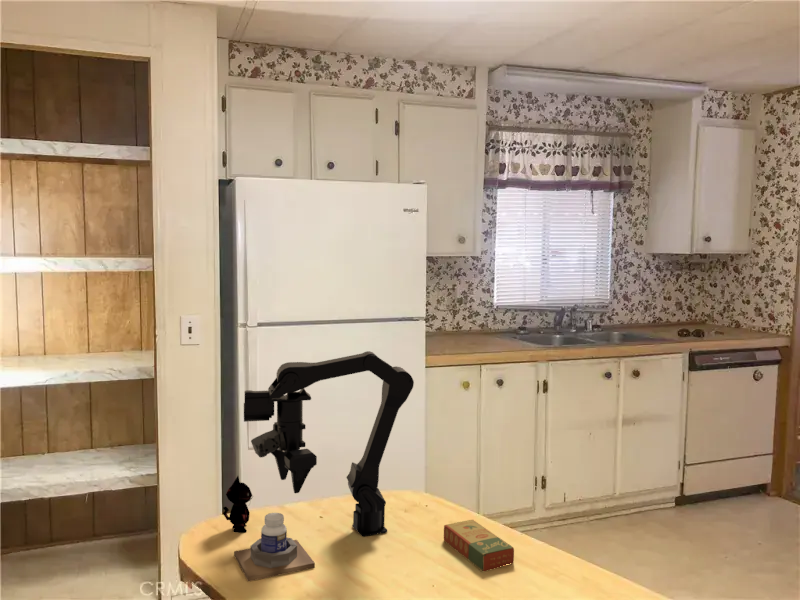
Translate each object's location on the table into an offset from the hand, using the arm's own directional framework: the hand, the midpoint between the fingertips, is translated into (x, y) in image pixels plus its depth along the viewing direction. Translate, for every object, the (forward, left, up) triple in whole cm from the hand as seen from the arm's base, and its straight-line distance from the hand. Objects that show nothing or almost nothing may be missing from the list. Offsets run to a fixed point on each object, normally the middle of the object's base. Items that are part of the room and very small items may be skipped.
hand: (289, 486), depth 154 cm
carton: (-35, +24, -13) cm, 45 cm away
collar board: (+7, +10, -12) cm, 17 cm away
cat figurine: (+10, -9, -12) cm, 18 cm away
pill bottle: (+7, +10, -11) cm, 16 cm away
